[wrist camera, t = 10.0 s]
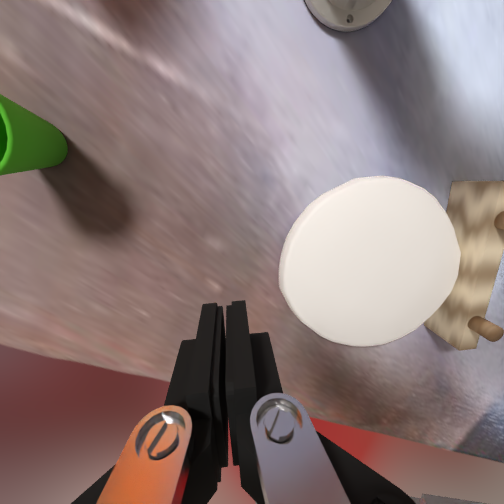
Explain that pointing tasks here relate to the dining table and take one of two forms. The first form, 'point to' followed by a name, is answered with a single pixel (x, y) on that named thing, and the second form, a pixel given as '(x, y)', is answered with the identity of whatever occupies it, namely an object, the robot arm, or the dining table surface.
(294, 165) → the dining table surface
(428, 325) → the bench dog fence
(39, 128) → the cup
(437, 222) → the plate
